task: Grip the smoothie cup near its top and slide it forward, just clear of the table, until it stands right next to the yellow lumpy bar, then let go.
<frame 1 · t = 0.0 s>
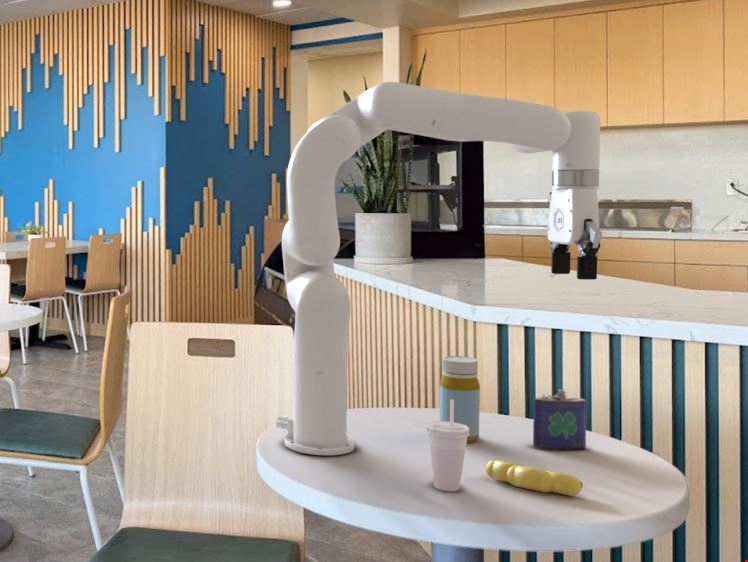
hand: (573, 276, 155), 31 cm above the table, tool pointing down, fingers open, 9 cm apart
bottle: (458, 439, 163), on the table
flask: (559, 449, 157), on the table
yellow lumpy bar: (530, 488, 136), on the table
smoothie: (446, 488, 136), on the table
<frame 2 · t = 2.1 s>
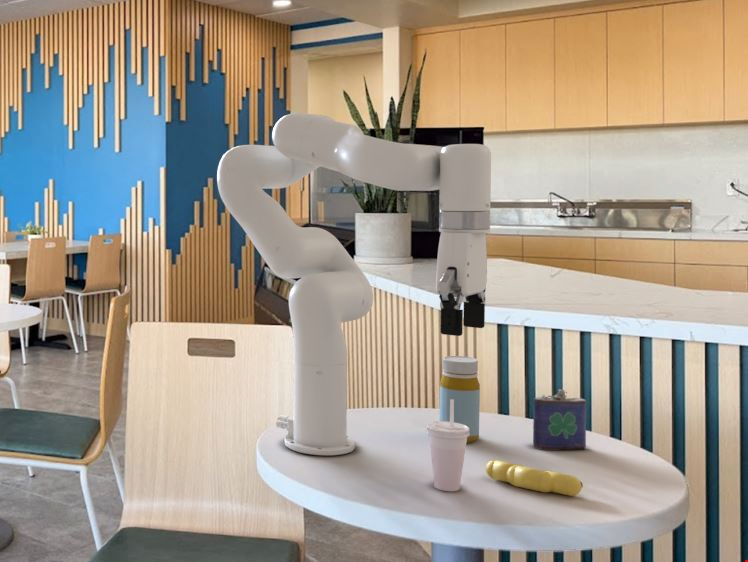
hand: (462, 330, 137), 24 cm above the table, tool pointing down, fingers open, 9 cm apart
nothing on the table moved.
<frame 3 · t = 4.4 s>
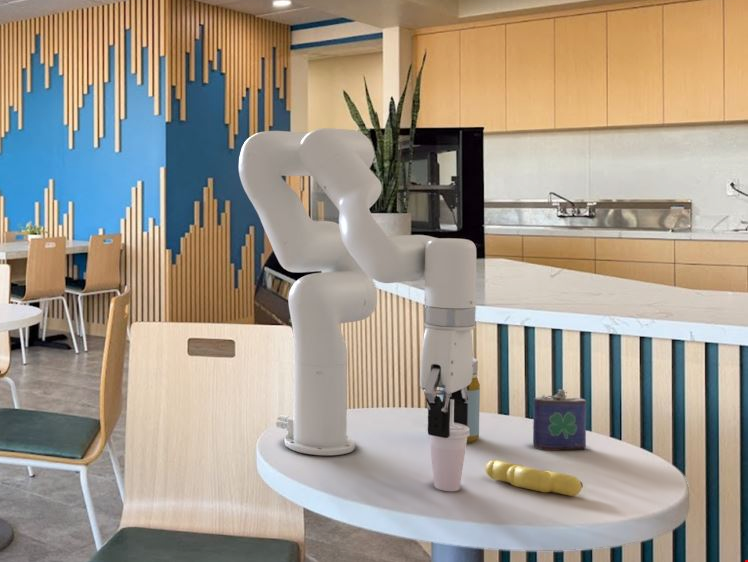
hand: (447, 430, 136), 9 cm above the table, tool pointing down, fingers closed on smoothie, 6 cm apart
smoothie: (446, 488, 136), on the table, touching gripper
everything else where it was.
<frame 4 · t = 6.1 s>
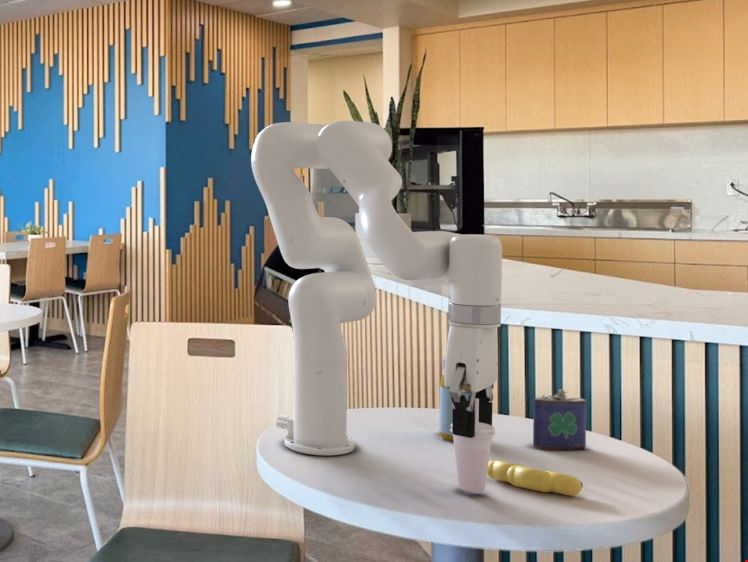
hand: (472, 430, 133), 10 cm above the table, tool pointing down, fingers closed on smoothie, 6 cm apart
smoothie: (471, 489, 134), point 1 cm above the table, touching gripper
everything else where it was.
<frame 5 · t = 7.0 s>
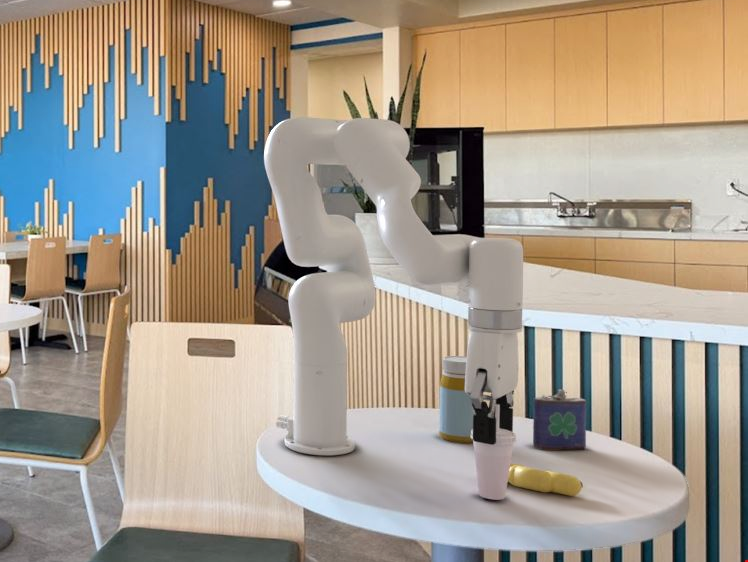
hand: (492, 436, 131), 9 cm above the table, tool pointing down, fingers closed on smoothie, 6 cm apart
smoothie: (491, 496, 132), on the table, touching gripper
everything else where it was.
when the fingers open (9 cm above the table, at t = 7.7 s): smoothie stays where it is, on the table.
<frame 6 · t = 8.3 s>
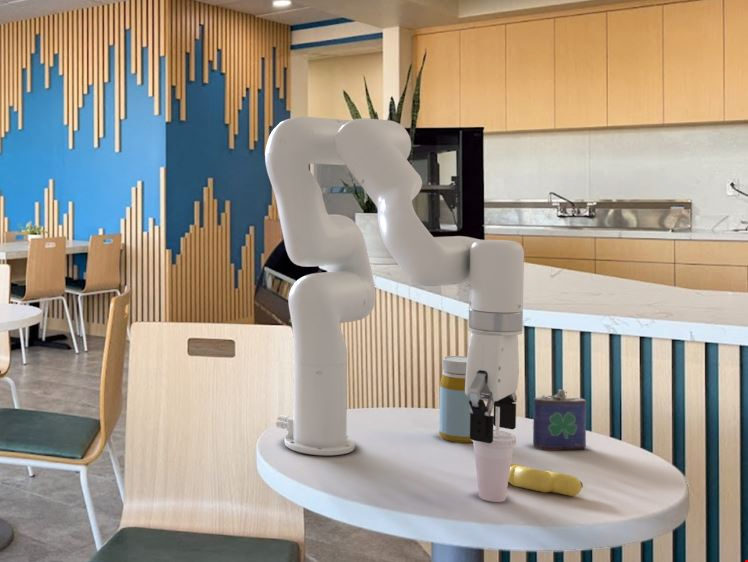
hand: (493, 434, 131), 10 cm above the table, tool pointing down, fingers open, 9 cm apart
smoothie: (492, 499, 132), on the table
everything else where it was.
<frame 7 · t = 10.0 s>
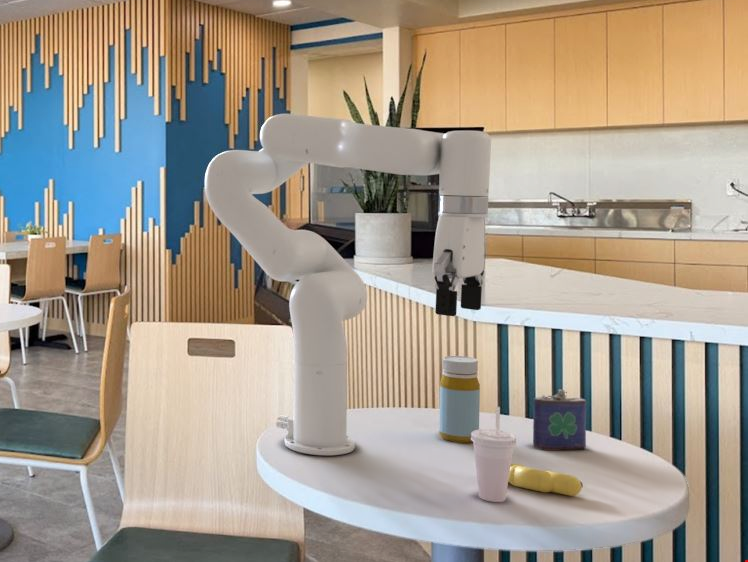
hand: (458, 312, 141), 27 cm above the table, tool pointing down, fingers open, 9 cm apart
nothing on the table moved.
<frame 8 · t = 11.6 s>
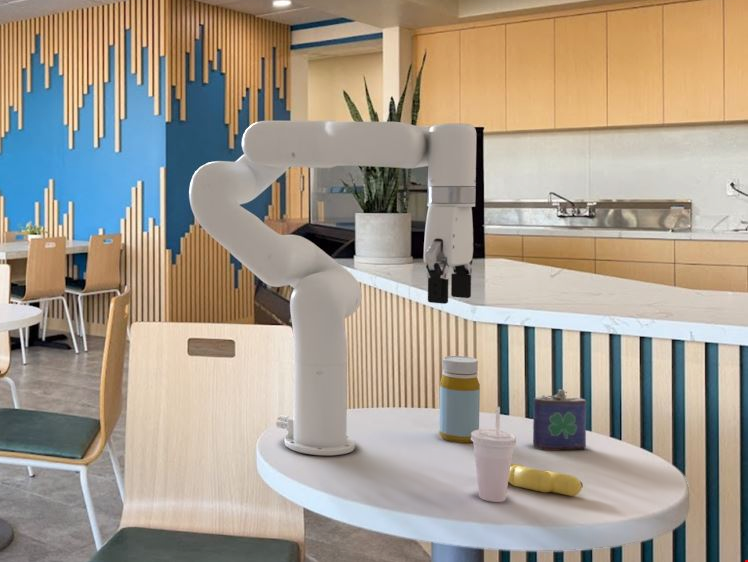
hand: (449, 300, 145), 28 cm above the table, tool pointing down, fingers open, 9 cm apart
nothing on the table moved.
at the end: smoothie 0.6 cm from the target spot, on the table; smoothie 8.5 cm from the yellow lumpy bar (horizontally); smoothie tilted 0° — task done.
